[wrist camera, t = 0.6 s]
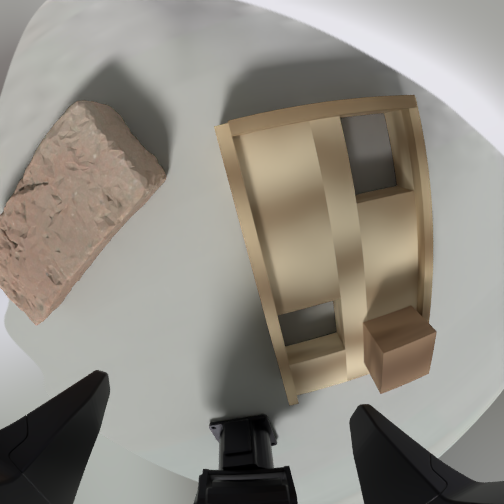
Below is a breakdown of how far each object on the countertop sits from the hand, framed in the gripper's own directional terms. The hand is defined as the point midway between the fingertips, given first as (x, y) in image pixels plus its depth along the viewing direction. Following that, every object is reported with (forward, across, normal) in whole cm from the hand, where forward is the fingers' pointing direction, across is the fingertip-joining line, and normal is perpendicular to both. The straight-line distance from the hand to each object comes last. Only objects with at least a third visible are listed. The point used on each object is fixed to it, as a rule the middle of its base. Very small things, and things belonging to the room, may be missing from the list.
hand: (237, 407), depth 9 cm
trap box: (+13, -8, -2) cm, 15 cm away
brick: (+14, +14, -2) cm, 20 cm away
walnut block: (+11, -13, +3) cm, 17 cm away
